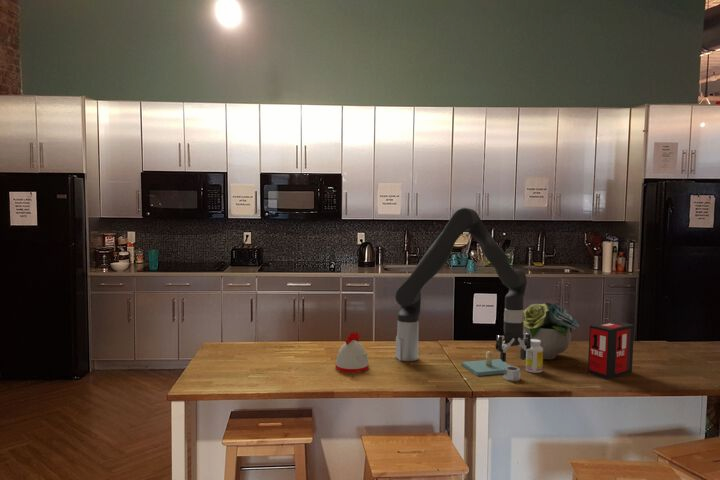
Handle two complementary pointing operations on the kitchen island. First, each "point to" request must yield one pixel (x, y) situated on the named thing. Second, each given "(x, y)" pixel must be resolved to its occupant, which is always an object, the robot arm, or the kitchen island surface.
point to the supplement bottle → (534, 357)
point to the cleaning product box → (610, 349)
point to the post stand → (486, 366)
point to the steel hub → (511, 373)
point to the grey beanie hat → (352, 355)
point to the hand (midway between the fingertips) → (513, 360)
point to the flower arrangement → (549, 327)
